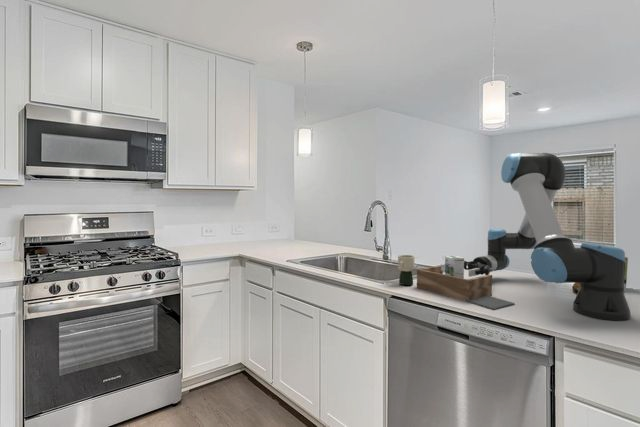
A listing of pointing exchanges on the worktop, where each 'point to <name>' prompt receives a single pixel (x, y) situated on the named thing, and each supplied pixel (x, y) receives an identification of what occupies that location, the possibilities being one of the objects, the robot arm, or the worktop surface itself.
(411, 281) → the character mug
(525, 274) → the worktop surface
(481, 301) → the mat
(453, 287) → the wooden crate
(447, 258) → the syrup box
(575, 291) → the bread roll
